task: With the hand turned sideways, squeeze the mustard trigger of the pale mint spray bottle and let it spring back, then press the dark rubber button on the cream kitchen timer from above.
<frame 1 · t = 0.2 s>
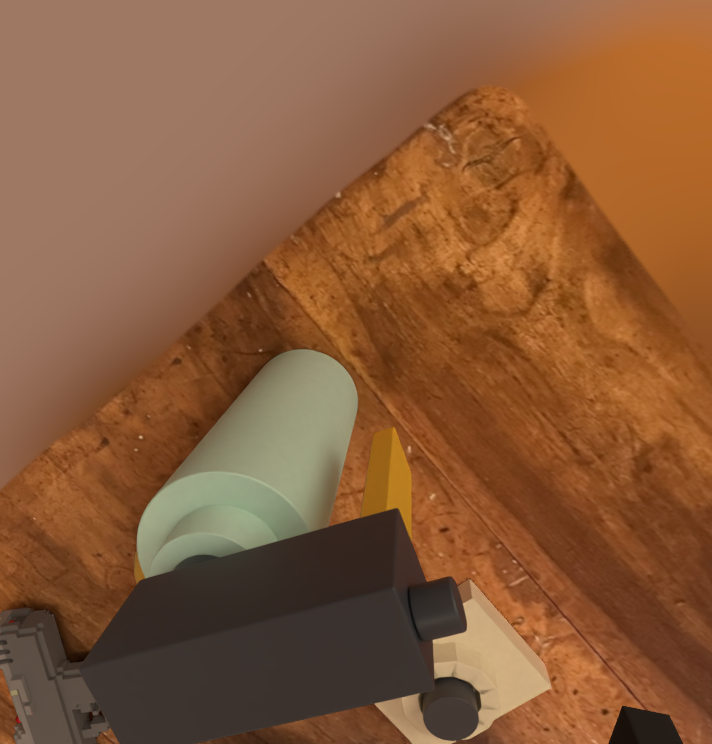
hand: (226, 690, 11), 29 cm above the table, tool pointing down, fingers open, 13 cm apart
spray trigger: (389, 495, 23), point 17 cm above the table, slide at 0.0 cm
toy gun: (89, 683, 49), on the table
timer: (446, 659, 45), on the table
spray bottle: (305, 400, 40), on the table
timer button: (450, 708, 41), point 5 cm above the table, slide at 0.2 cm
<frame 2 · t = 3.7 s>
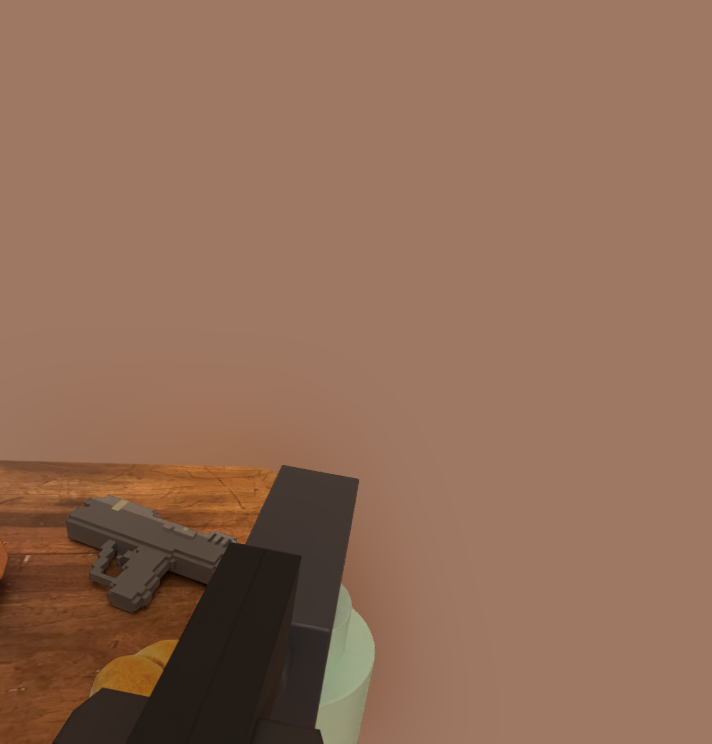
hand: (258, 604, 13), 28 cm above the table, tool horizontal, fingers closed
bread roll: (157, 713, 42), on the table
toy gun: (136, 571, 56), on the table
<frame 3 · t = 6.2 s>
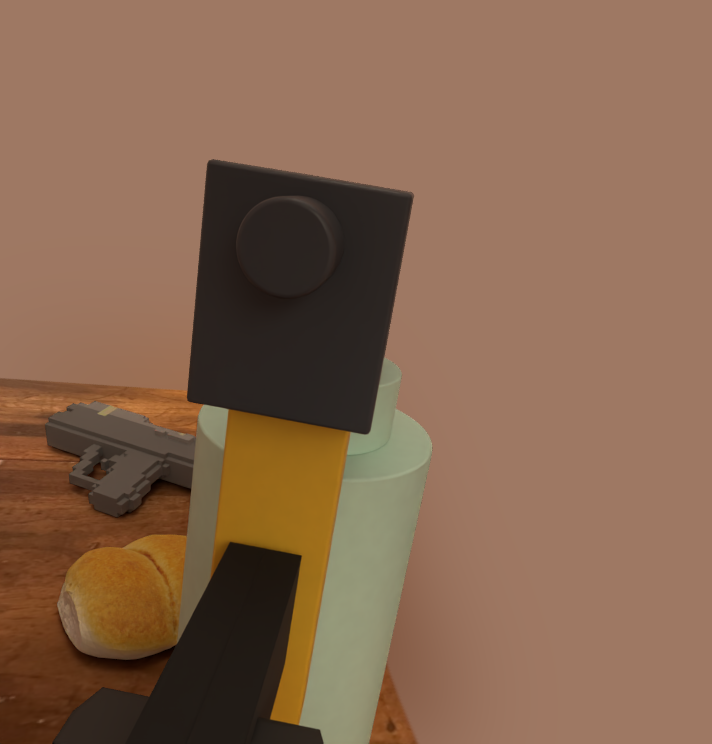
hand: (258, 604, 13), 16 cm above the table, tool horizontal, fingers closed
bread roll: (143, 615, 35), on the table
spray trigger: (271, 565, 13), point 17 cm above the table, slide at 0.8 cm, touching gripper
toy gun: (125, 480, 49), on the table
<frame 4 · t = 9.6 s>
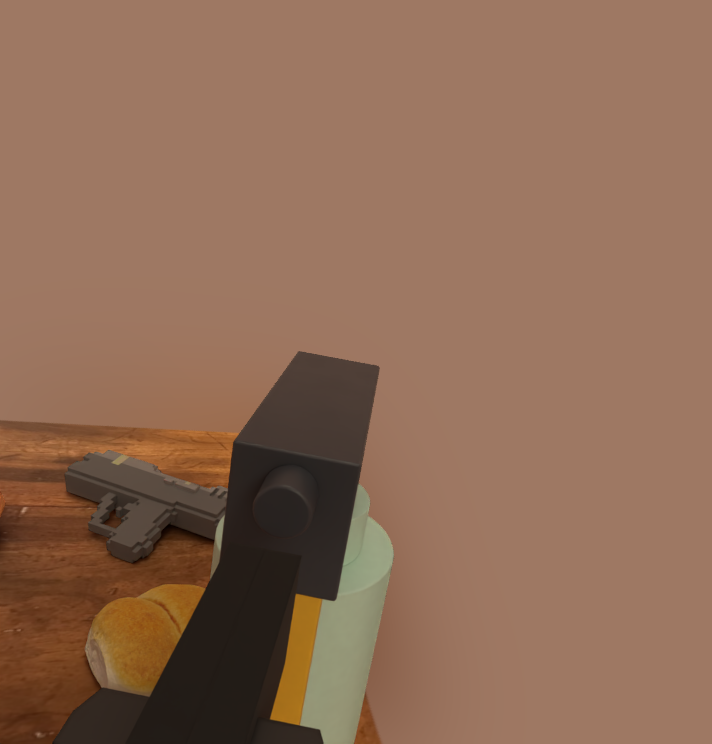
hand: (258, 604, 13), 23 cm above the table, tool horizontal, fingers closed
bread roll: (158, 657, 41), on the table
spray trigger: (267, 680, 19), point 17 cm above the table, slide at 0.3 cm
toy gun: (137, 525, 54), on the table
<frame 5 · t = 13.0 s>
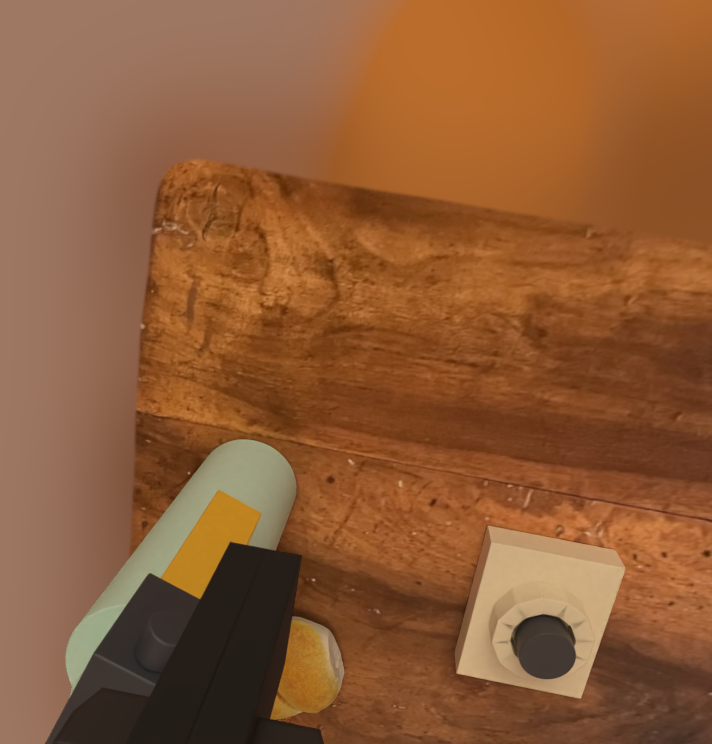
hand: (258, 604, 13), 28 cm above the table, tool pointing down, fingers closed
bread roll: (288, 652, 48), on the table
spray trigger: (211, 553, 26), point 17 cm above the table, slide at 0.3 cm
timer: (531, 602, 45), on the table
spray bottle: (248, 484, 44), on the table
timer button: (544, 647, 40), point 5 cm above the table, slide at 0.2 cm
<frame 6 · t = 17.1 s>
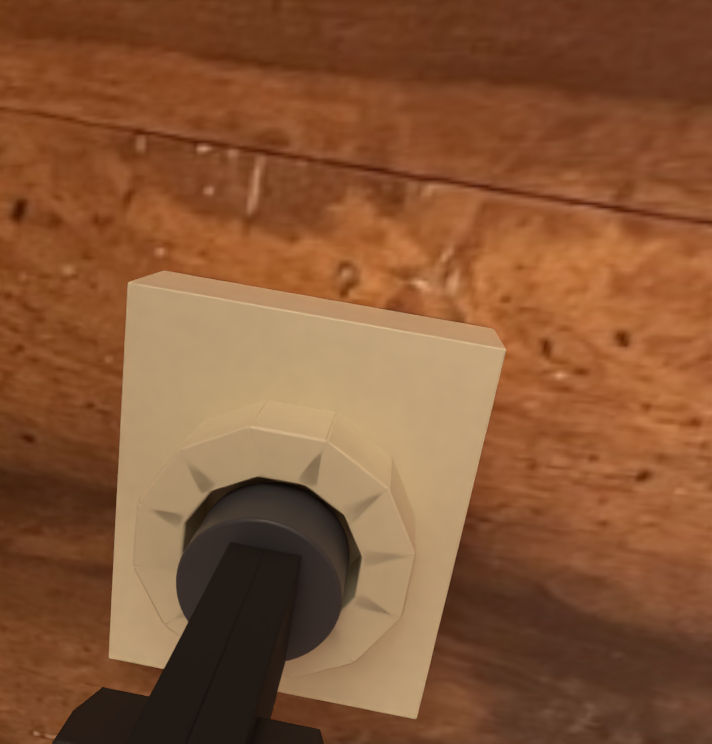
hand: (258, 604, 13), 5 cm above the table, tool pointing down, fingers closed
timer: (299, 482, 18), on the table
timer button: (266, 570, 14), point 4 cm above the table, slide at 0.0 cm, touching gripper
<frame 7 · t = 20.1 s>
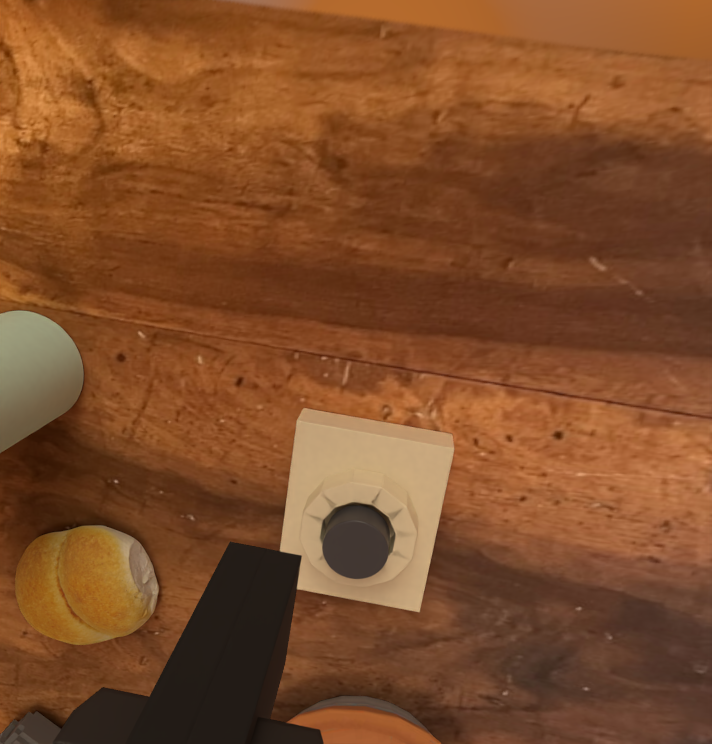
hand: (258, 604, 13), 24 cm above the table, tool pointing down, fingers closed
bread roll: (99, 570, 42), on the table
timer: (363, 502, 38), on the table
spray bottle: (29, 366, 38), on the table
timer button: (356, 541, 34), point 5 cm above the table, slide at 0.2 cm
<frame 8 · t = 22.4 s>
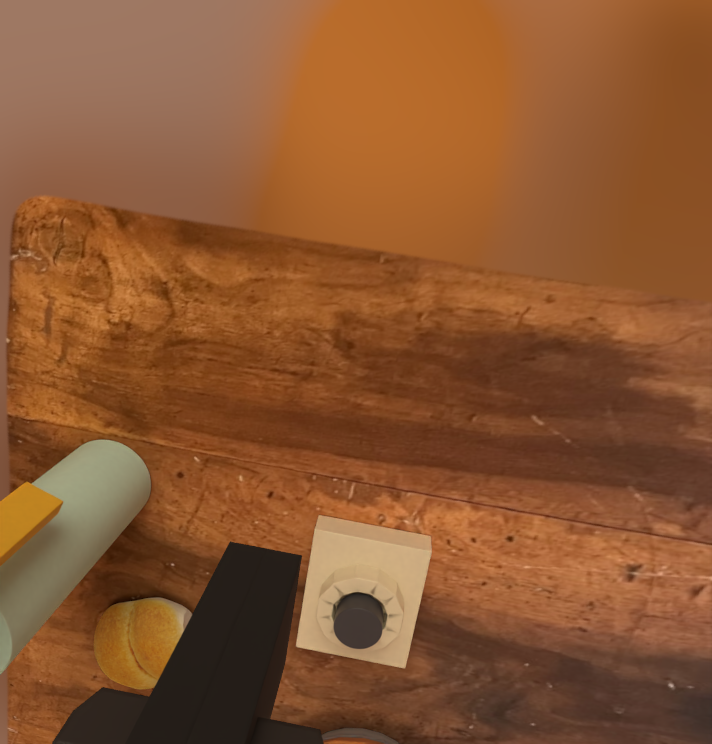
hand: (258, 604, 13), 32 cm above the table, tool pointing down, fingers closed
bread roll: (156, 630, 53), on the table
timer: (363, 583, 50), on the table
spray bottle: (109, 479, 49), on the table
timer button: (358, 621, 46), point 5 cm above the table, slide at 0.2 cm
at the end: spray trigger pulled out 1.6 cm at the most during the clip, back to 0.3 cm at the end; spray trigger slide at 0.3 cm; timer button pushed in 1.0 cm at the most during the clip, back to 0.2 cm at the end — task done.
